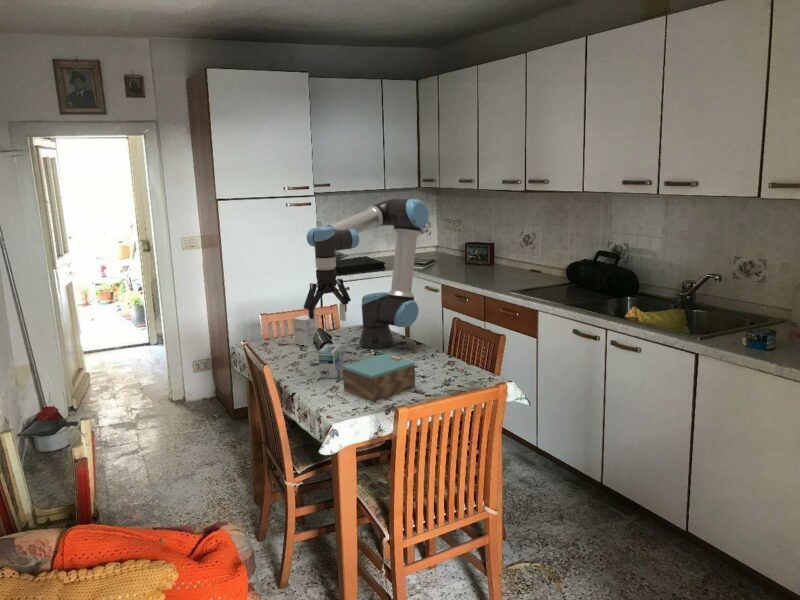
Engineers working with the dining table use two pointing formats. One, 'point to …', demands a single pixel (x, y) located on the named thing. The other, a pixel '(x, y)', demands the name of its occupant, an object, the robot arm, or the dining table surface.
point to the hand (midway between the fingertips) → (328, 323)
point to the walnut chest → (379, 383)
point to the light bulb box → (331, 360)
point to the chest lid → (378, 366)
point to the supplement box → (304, 330)
